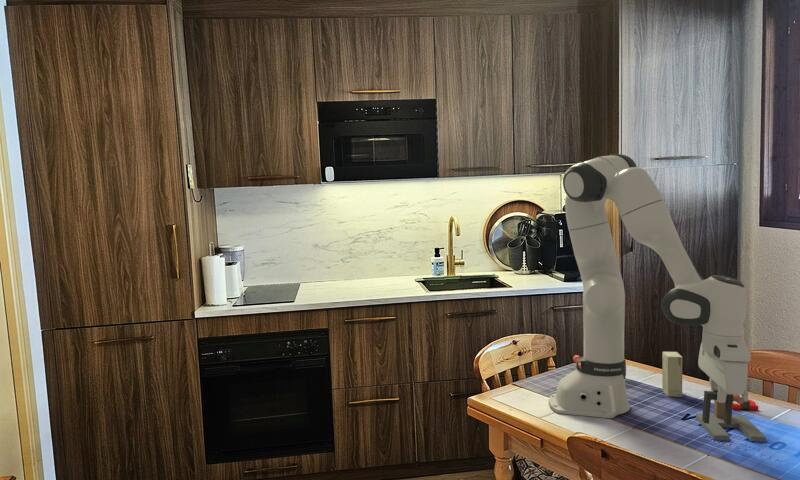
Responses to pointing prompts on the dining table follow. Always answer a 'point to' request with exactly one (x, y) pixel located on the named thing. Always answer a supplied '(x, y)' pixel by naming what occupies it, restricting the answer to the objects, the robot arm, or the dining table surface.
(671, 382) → the skincare box
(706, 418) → the bight
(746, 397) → the tow hook
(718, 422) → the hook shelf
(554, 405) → the robot arm
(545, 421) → the dining table surface
